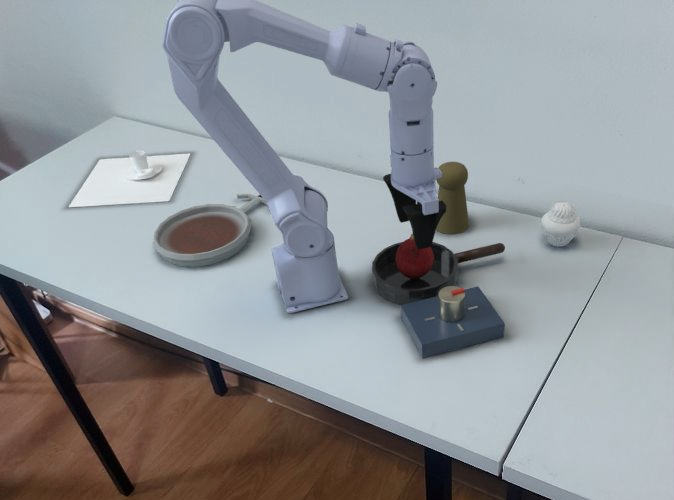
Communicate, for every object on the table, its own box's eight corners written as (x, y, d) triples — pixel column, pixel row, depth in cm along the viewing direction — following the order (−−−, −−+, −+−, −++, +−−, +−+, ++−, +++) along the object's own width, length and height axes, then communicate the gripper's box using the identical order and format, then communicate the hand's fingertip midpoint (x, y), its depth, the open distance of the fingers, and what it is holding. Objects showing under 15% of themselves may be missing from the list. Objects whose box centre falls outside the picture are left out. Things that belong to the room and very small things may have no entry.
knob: (444, 324, 90) (444, 302, 87) (434, 309, 93) (434, 287, 90) (468, 318, 91) (469, 296, 88) (458, 303, 93) (459, 281, 91)
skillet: (388, 314, 96) (387, 298, 94) (363, 266, 106) (362, 251, 104) (470, 294, 99) (471, 278, 96) (439, 248, 108) (439, 233, 106)
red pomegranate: (431, 291, 99) (430, 246, 94) (393, 288, 100) (391, 244, 95) (436, 268, 103) (435, 224, 98) (399, 266, 105) (397, 223, 99)
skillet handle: (453, 266, 102) (454, 258, 100) (450, 260, 103) (450, 252, 102) (506, 253, 103) (507, 245, 102) (502, 248, 104) (502, 240, 103)
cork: (459, 237, 110) (460, 177, 102) (427, 229, 112) (426, 170, 105) (475, 219, 113) (477, 160, 106) (443, 212, 116) (443, 154, 108)
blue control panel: (422, 358, 89) (421, 343, 87) (401, 318, 96) (400, 304, 94) (503, 336, 91) (505, 322, 89) (477, 299, 98) (478, 284, 96)
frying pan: (309, 189, 121) (200, 265, 104) (311, 203, 123) (204, 280, 106) (241, 169, 128) (129, 237, 112) (244, 183, 130) (135, 252, 114)
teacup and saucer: (157, 182, 132) (151, 163, 129) (118, 184, 132) (111, 166, 130) (167, 162, 138) (161, 143, 136) (130, 164, 139) (124, 146, 136)
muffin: (585, 238, 107) (591, 200, 102) (565, 256, 104) (571, 218, 99) (551, 226, 110) (556, 189, 105) (531, 243, 107) (535, 205, 102)
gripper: (461, 163, 82) (459, 253, 91) (421, 118, 93) (423, 203, 102) (407, 174, 81) (411, 264, 90) (374, 128, 91) (380, 213, 101)
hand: (414, 233), depth 96 cm, fingers open, 7 cm apart
